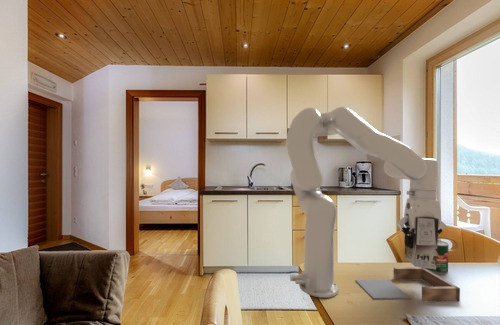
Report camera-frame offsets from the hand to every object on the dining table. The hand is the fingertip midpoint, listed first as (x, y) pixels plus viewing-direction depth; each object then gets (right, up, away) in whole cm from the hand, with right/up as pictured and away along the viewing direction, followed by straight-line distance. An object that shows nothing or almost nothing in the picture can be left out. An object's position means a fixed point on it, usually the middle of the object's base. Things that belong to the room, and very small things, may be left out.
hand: (420, 247), depth 84 cm
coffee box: (0, -6, 0) cm, 6 cm away
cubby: (+1, -14, 0) cm, 14 cm away
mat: (-13, -14, -1) cm, 19 cm away
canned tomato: (+17, -15, +16) cm, 27 cm away
